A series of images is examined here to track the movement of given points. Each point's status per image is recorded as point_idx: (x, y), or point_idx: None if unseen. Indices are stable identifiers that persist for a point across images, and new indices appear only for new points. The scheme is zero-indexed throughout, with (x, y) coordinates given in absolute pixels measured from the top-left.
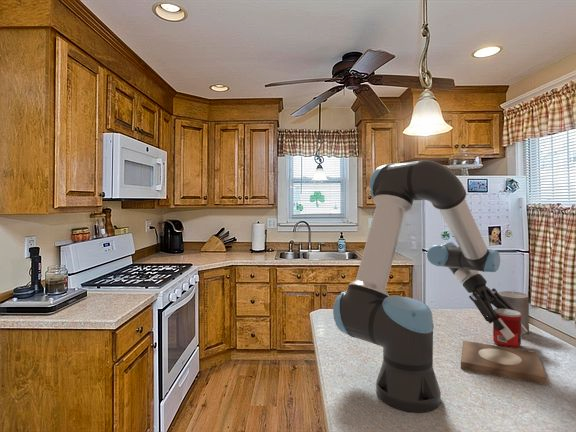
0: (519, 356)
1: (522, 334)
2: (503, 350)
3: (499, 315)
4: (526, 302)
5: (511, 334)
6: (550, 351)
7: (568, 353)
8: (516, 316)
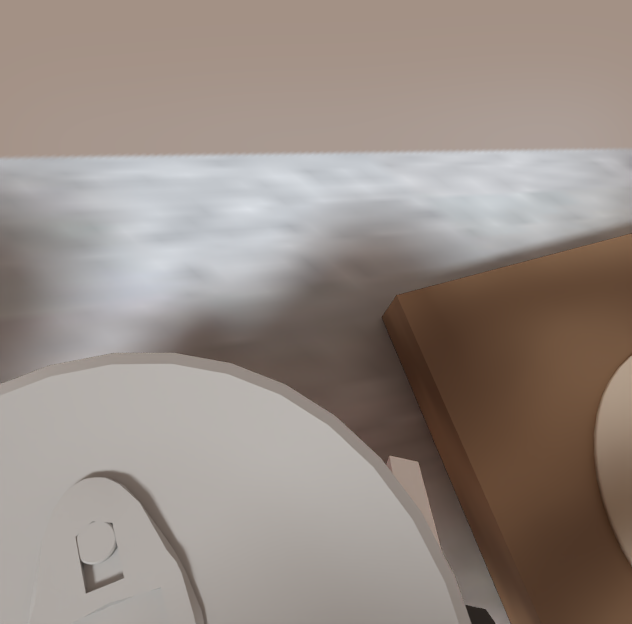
0: (599, 371)
1: None
2: (612, 503)
3: None
4: None
5: (419, 488)
6: (136, 261)
7: (96, 170)
8: (322, 411)
